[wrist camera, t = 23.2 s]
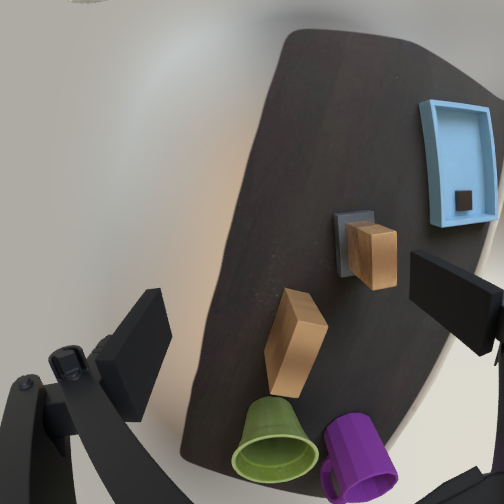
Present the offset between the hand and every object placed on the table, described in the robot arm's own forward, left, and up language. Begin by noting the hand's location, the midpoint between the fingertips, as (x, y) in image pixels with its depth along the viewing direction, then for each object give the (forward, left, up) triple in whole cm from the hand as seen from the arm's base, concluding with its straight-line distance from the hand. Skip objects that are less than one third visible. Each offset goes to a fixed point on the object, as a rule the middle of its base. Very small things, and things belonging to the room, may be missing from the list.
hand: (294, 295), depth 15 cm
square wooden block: (+14, +2, -25) cm, 28 cm away
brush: (+4, +12, -25) cm, 27 cm away
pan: (-6, +31, -25) cm, 40 cm away
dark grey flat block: (0, +31, -24) cm, 39 cm away
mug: (+41, +10, -25) cm, 49 cm away
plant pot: (+30, -2, -25) cm, 39 cm away
